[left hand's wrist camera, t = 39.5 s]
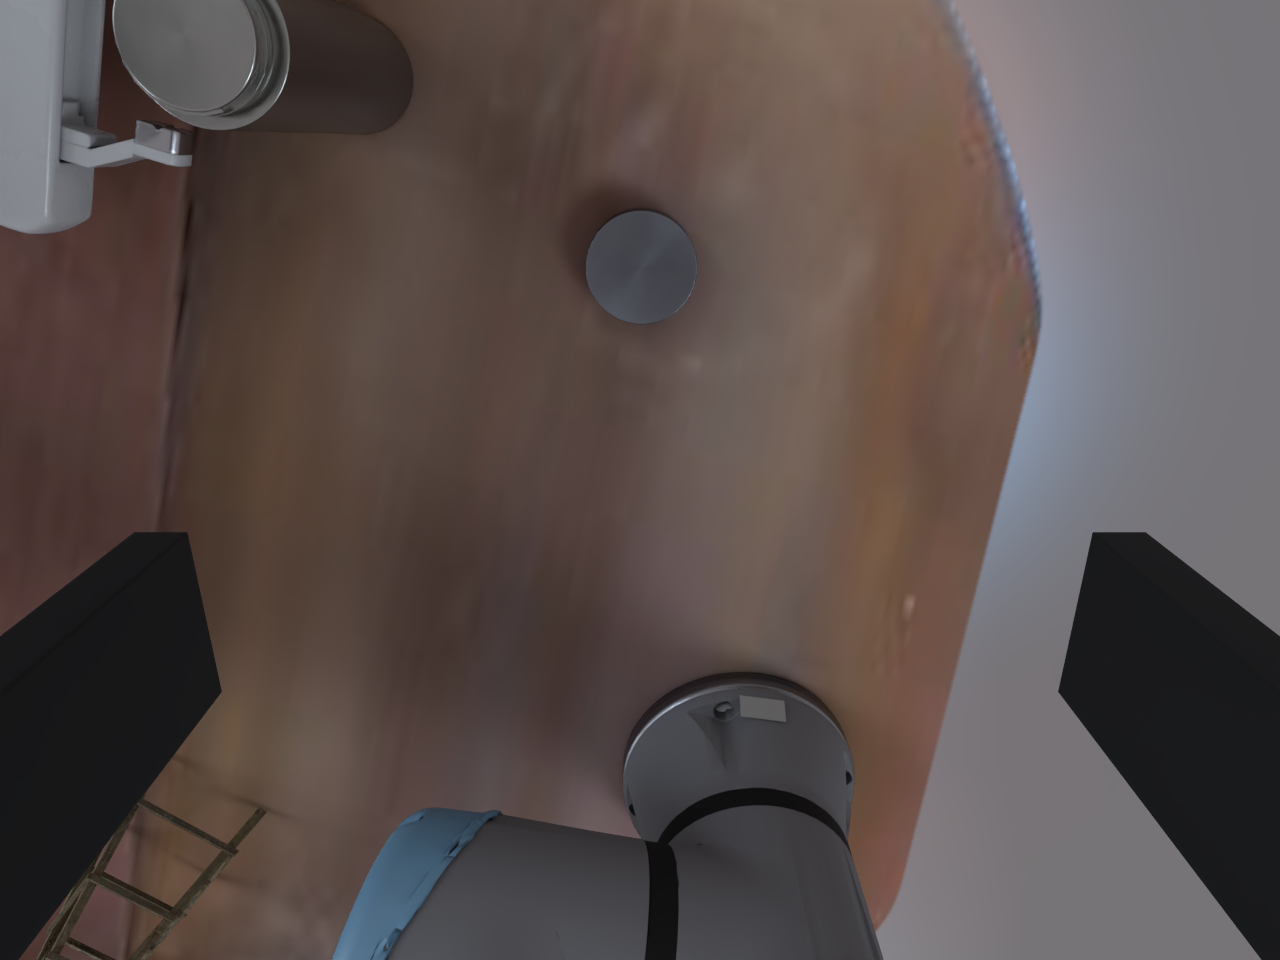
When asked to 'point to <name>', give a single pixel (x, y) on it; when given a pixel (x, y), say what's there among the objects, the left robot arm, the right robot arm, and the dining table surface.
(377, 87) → the jar
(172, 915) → the miniature windmill
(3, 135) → the right robot arm
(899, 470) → the dining table surface
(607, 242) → the lid
